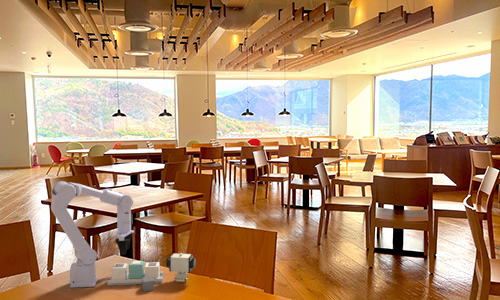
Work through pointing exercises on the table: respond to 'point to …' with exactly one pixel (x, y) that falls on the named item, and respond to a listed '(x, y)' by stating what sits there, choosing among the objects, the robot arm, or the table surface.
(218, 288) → the table surface
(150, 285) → the dark loose block
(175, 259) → the pneumatic valve
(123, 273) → the board
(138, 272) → the block
